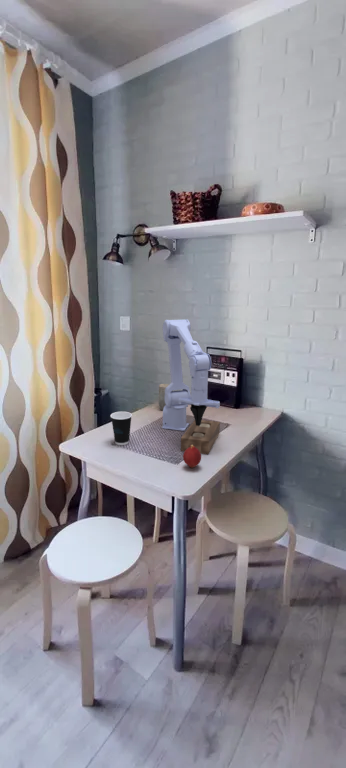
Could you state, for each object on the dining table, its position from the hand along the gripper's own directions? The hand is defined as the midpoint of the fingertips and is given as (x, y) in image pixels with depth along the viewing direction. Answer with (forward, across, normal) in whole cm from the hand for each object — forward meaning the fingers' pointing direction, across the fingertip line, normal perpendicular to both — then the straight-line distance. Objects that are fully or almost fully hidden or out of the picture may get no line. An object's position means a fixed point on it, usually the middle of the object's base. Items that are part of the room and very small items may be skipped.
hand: (198, 424), depth 139 cm
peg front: (+8, 0, 0) cm, 8 cm away
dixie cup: (+9, -28, -5) cm, 30 cm away
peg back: (+8, 0, +10) cm, 13 cm away
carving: (+9, -25, +37) cm, 45 cm away
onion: (+9, +2, -16) cm, 19 cm away
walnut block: (+9, 0, +5) cm, 10 cm away
